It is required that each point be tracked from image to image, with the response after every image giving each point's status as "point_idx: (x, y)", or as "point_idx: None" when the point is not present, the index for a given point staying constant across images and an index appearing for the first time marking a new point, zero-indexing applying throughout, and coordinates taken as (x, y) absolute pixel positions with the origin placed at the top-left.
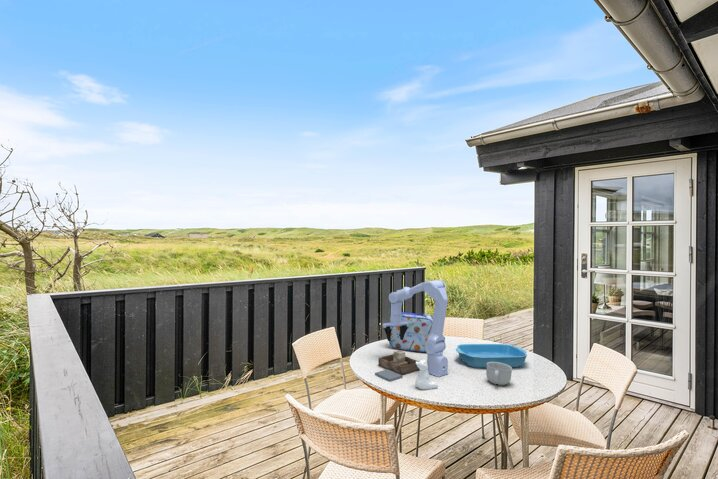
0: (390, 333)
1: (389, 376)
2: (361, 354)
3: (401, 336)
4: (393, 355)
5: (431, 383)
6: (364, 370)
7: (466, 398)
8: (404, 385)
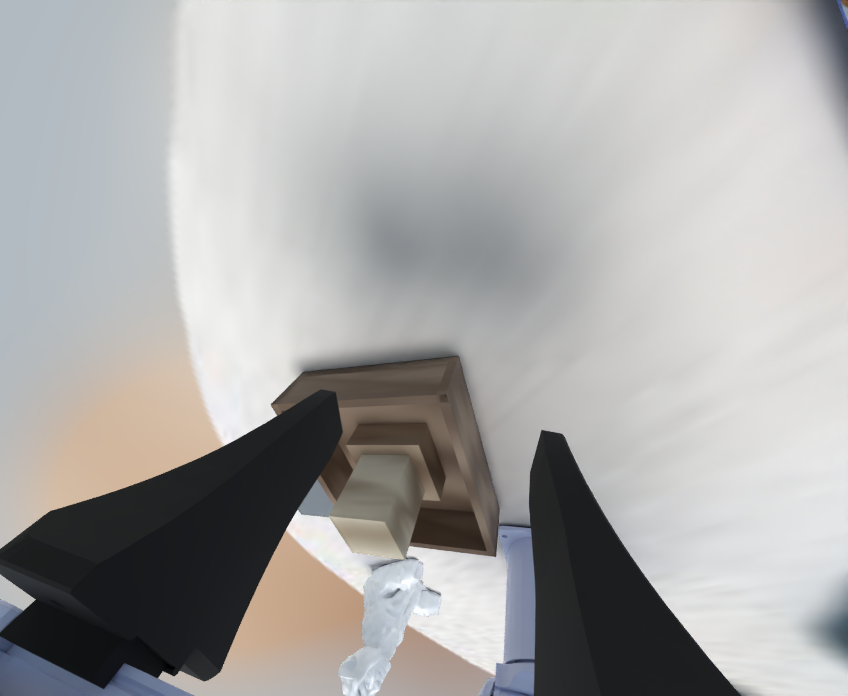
0: (262, 555)
1: (307, 500)
2: (209, 50)
3: (537, 505)
4: (400, 400)
5: (412, 612)
6: (223, 386)
7: (473, 648)
8: (345, 542)
